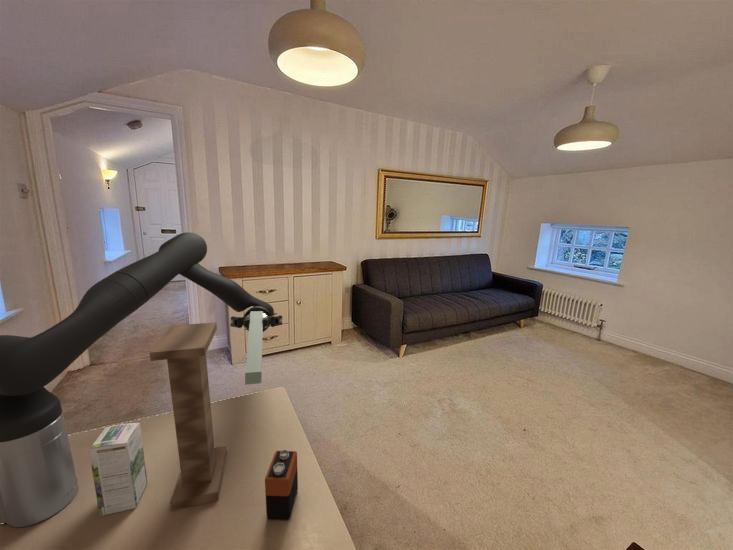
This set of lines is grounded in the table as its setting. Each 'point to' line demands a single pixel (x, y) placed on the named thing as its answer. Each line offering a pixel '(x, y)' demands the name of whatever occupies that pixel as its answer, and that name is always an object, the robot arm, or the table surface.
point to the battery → (281, 485)
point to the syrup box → (118, 468)
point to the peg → (254, 349)
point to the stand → (192, 413)
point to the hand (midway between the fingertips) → (256, 323)
